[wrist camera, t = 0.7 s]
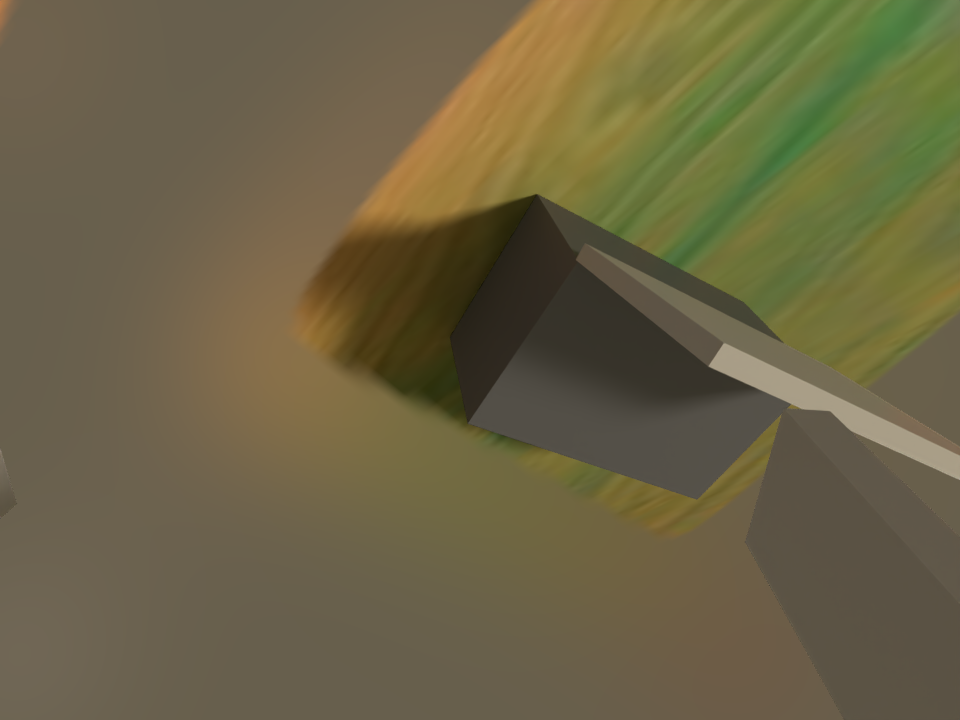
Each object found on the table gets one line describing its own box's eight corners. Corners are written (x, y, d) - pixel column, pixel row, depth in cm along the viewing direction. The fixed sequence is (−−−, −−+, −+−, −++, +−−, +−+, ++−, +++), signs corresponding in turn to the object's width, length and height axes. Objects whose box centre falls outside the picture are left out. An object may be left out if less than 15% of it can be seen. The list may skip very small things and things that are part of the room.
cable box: (449, 337, 38) (467, 423, 32) (537, 194, 34) (578, 260, 27) (648, 414, 44) (697, 499, 38) (743, 302, 40) (817, 377, 34)
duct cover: (708, 366, 18) (724, 342, 18) (575, 259, 27) (585, 243, 27) (1009, 502, 24) (1023, 486, 24) (820, 379, 34) (830, 366, 33)
